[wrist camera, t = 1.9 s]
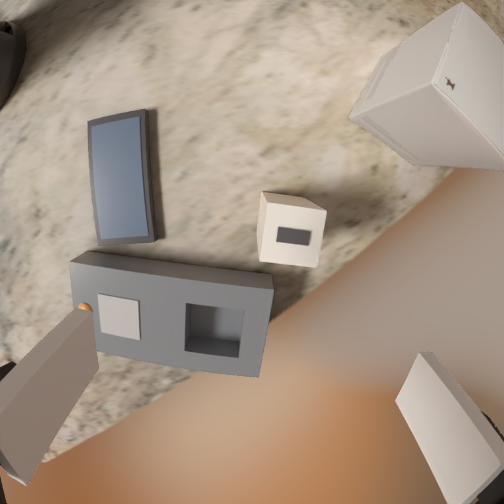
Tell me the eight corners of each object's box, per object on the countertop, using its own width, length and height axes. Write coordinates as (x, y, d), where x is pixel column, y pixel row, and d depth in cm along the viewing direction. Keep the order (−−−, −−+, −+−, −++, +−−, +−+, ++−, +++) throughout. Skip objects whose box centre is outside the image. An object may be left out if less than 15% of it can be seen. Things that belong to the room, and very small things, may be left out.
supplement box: (413, 168, 27) (517, 179, 13) (345, 118, 26) (428, 82, 12) (443, 104, 25) (540, 86, 11) (381, 54, 24) (462, -3, 10)
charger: (261, 191, 28) (267, 202, 19) (303, 197, 28) (327, 211, 19) (256, 232, 29) (259, 261, 20) (297, 237, 29) (316, 268, 21)
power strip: (87, 250, 29) (68, 262, 25) (271, 274, 30) (274, 290, 26) (94, 329, 32) (79, 347, 28) (257, 355, 33) (258, 378, 29)
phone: (92, 122, 26) (87, 121, 25) (147, 110, 26) (144, 108, 25) (102, 243, 29) (98, 246, 28) (157, 239, 29) (154, 242, 28)
